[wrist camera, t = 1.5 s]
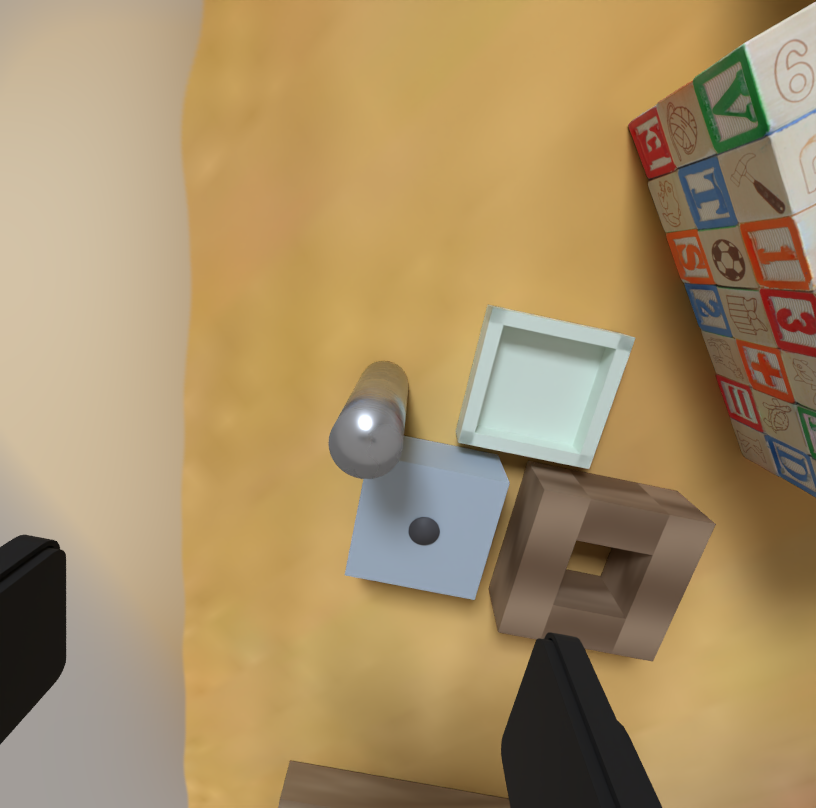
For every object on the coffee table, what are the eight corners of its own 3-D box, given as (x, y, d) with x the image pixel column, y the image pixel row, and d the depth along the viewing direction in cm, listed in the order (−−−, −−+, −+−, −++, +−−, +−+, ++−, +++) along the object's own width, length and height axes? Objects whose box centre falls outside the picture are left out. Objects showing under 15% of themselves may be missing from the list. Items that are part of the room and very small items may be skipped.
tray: (487, 304, 26) (492, 307, 24) (619, 332, 27) (635, 337, 25) (455, 431, 29) (458, 442, 27) (577, 455, 29) (589, 469, 27)
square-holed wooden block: (527, 460, 29) (544, 489, 25) (677, 491, 29) (715, 524, 26) (488, 588, 32) (498, 632, 28) (625, 614, 32) (652, 661, 28)
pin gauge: (364, 356, 27) (334, 402, 18) (413, 366, 28) (409, 418, 18) (355, 402, 28) (323, 471, 19) (403, 412, 28) (394, 485, 19)
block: (375, 429, 29) (368, 455, 25) (497, 454, 29) (509, 483, 25) (354, 537, 31) (344, 576, 27) (467, 559, 31) (474, 601, 27)
